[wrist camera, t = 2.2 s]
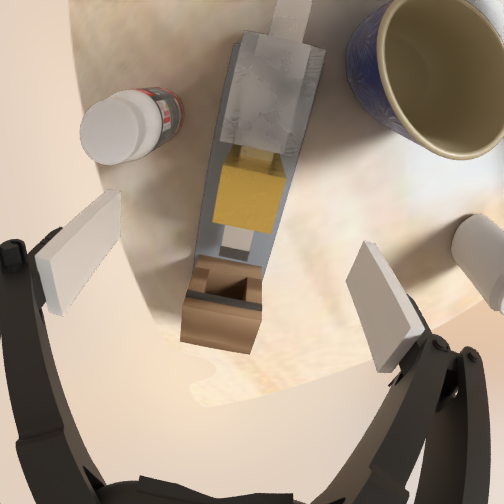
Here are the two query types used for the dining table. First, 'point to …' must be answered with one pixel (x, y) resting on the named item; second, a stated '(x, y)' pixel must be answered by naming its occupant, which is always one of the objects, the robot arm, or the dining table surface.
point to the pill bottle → (130, 124)
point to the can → (482, 257)
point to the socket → (223, 305)
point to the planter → (431, 75)
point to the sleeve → (271, 93)
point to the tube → (256, 163)
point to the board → (208, 230)
